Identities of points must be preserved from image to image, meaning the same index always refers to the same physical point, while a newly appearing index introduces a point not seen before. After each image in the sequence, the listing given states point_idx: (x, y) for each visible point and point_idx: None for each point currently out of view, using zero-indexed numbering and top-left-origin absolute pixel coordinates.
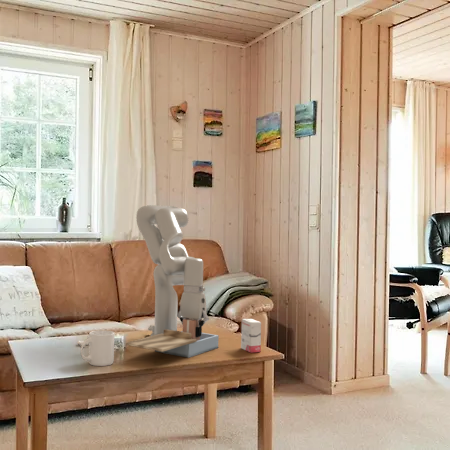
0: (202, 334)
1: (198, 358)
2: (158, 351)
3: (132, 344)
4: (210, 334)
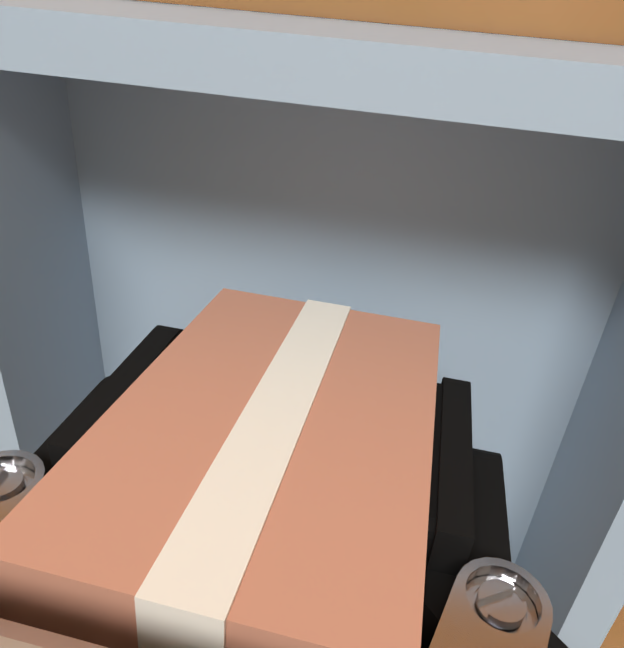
0: (374, 107)
1: (613, 630)
2: None
3: None
4: (618, 112)
